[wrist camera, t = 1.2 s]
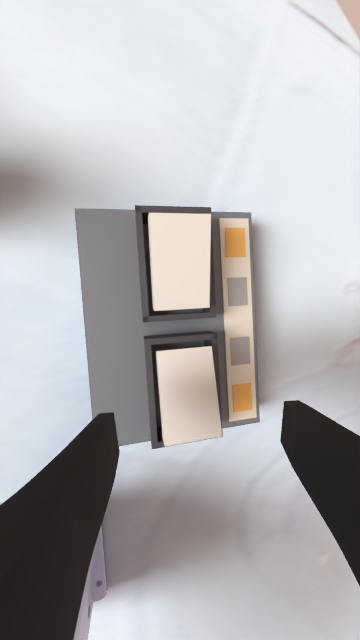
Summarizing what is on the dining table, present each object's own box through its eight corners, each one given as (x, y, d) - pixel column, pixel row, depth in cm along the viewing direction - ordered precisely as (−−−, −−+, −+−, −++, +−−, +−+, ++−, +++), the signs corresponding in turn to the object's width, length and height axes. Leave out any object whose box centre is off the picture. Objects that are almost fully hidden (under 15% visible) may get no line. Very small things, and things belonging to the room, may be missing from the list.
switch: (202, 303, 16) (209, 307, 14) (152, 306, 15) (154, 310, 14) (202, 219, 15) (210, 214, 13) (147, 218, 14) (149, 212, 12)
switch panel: (245, 408, 21) (273, 434, 17) (100, 431, 18) (89, 468, 14) (236, 224, 20) (264, 201, 16) (83, 222, 17) (65, 194, 13)
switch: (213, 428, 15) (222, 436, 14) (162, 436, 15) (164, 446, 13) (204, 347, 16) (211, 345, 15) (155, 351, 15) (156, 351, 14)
